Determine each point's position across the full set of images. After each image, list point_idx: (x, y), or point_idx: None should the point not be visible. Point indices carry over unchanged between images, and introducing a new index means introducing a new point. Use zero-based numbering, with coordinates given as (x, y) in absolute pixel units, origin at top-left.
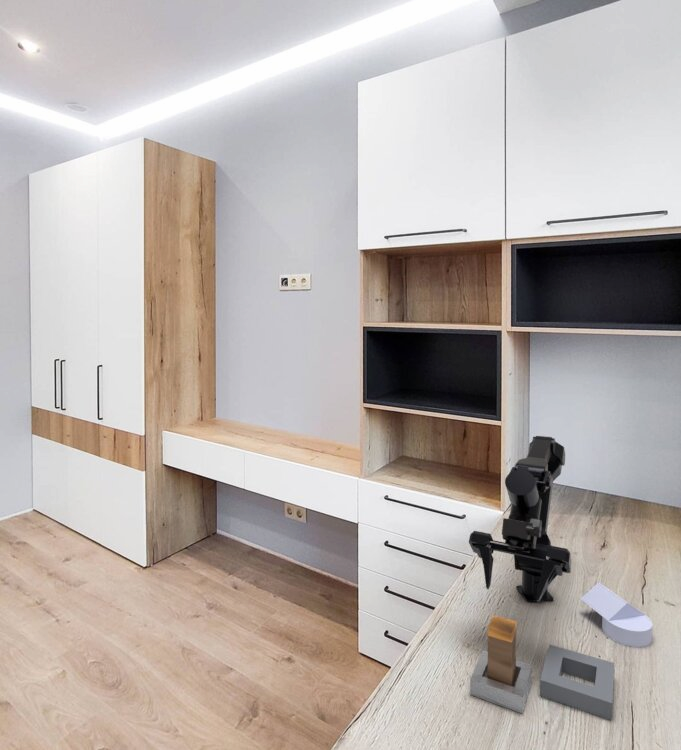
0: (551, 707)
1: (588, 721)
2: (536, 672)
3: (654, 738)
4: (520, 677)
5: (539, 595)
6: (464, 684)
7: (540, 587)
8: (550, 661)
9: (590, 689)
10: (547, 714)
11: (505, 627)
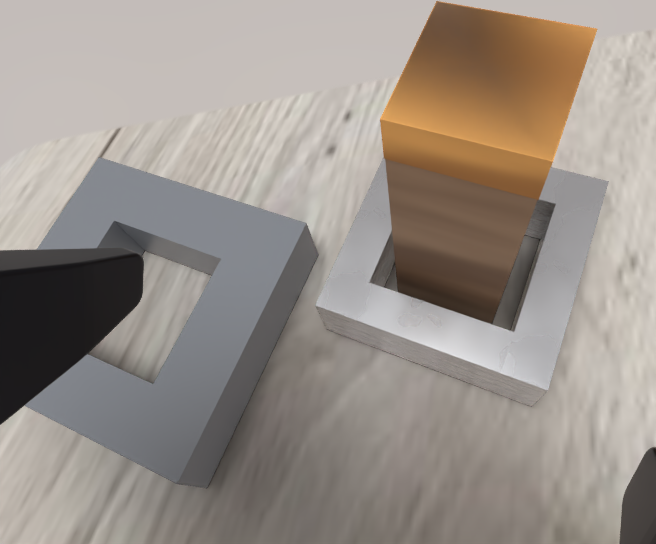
0: (294, 210)
1: (200, 176)
2: (293, 384)
3: (52, 152)
4: (385, 223)
5: (93, 249)
6: (614, 270)
7: (22, 262)
8: (223, 342)
9: (136, 205)
10: (317, 180)
11: (471, 45)
